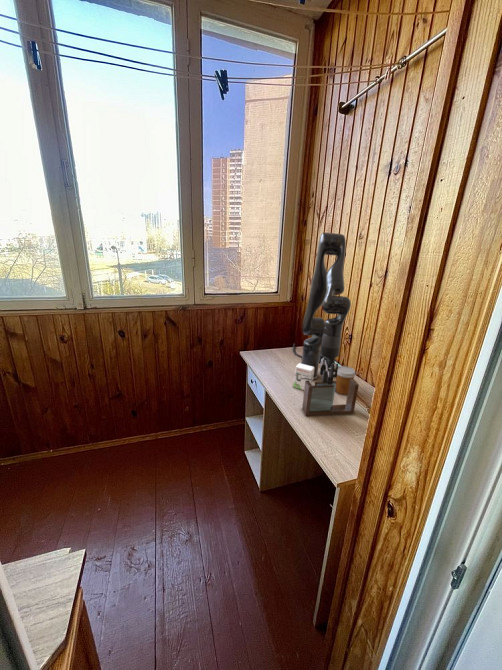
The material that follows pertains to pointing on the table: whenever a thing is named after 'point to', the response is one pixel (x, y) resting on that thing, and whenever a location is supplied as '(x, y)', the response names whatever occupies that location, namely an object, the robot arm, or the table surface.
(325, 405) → the window frame
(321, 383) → the sliding pane
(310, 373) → the ink box
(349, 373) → the disposable coffee cup
